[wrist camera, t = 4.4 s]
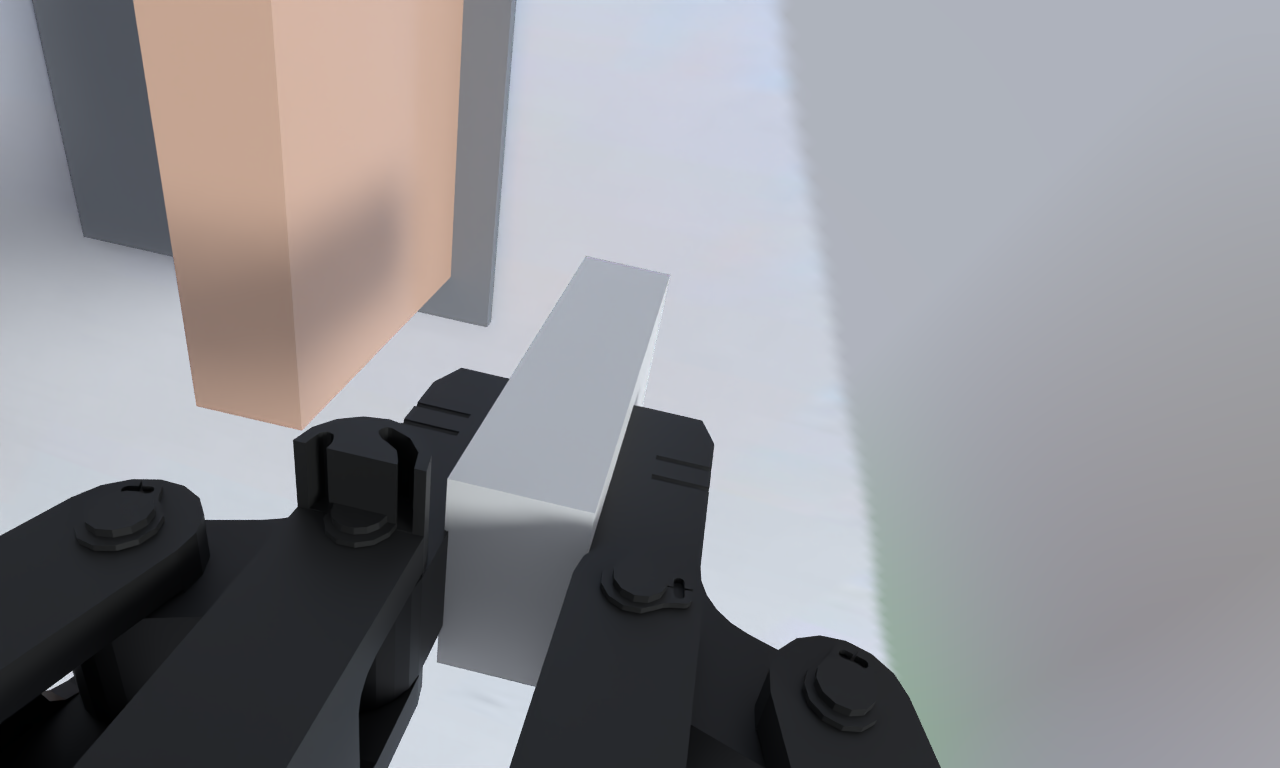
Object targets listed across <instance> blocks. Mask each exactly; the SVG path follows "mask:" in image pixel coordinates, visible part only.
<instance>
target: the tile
mask: <svg viewBox="0 0 1280 768" xmlns="http://www.w3.org/2000/svg"><path fill="white" fill-rule="evenodd" d="M463 2H464V0H133V3H134V9H135V16H136V22H137V28H138V35H139V41H140V48H141V54H142V60H143V67H144V73H145V80H146V86H147V92H148V99H149V105H150V112H151V118H152V124H153V131H154V137H155V144H156V150H157V156H158V163H159V169H160V175H161V182H162V188H163V195H164V201H165V207H166V214H167V220H168V227H169V233H170V239H171V246H172V252H173V259H174V265H175V271H176V278H177V284H178V290H179V297H180V303H181V310H182V316H183V322H184V329H185V335H186V342H187V348H188V354H189V361H190V367H191V374H192V380H193V386H194V393H195V399H196V406H199V407H203V408H207V409H211V410H216V411H220V412H224V413H229V414H233V415H237V416H242V417H246V418H250V419H254V420H259V421H263V422H267V423H272V424H276V425H280V426H285V427H289V428H293V429H298V430H303V429H304V428H305V427H306V426H307V425H308V424H309V423H310V422H311V421H312V420H313V418H314V417H315V416H316V415H317V414H318V413H319V412H320V411H321V410H322V409H323V408H324V407H325V406H326V405H327V404H328V403H329V402H330V401H331V400H332V399H333V398H334V397H335V396H336V395H337V394H338V393H339V392H340V391H341V390H342V389H343V388H344V387H345V385H346V384H347V383H348V382H349V381H350V380H351V379H352V378H353V377H354V376H355V375H356V374H357V373H358V372H359V371H360V370H361V369H362V368H363V367H364V366H365V365H366V364H367V363H368V362H369V361H370V360H371V359H372V358H373V357H374V356H375V355H376V354H377V352H378V351H379V350H380V349H381V348H382V347H383V346H384V345H385V344H386V343H387V342H388V341H389V340H390V339H391V338H392V337H393V336H394V335H395V334H396V333H397V332H398V331H399V330H400V329H401V328H402V327H403V326H404V325H405V324H406V323H407V322H408V320H409V319H410V318H411V317H412V316H413V315H414V314H415V313H416V312H417V311H418V310H419V309H420V308H421V307H422V306H423V305H424V304H425V303H426V302H427V301H428V300H429V299H430V298H431V297H432V296H433V295H434V294H435V293H436V292H437V291H438V290H439V289H440V287H441V286H442V285H443V284H444V283H445V282H446V281H447V280H448V279H449V278H450V277H451V260H452V238H453V217H454V195H455V174H456V152H457V131H458V109H459V88H460V66H461V45H462V23H463Z"/></svg>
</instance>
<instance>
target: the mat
mask: <svg viewBox="0 0 1280 768" xmlns="http://www.w3.org/2000/svg"><path fill="white" fill-rule="evenodd" d="M32 2H33V6H34V11H35V15H36V20H37V24H38V29H39V34H40V38H41V43H42V47H43V52H44V57H45V61H46V66H47V70H48V75H49V79H50V84H51V89H52V93H53V98H54V102H55V107H56V111H57V116H58V121H59V125H60V130H61V134H62V139H63V144H64V148H65V153H66V157H67V162H68V166H69V171H70V176H71V180H72V185H73V189H74V194H75V198H76V203H77V208H78V212H79V217H80V221H81V226H82V230H83V235H84V237H88V238H93V239H97V240H101V241H106V242H110V243H115V244H119V245H124V246H128V247H133V248H137V249H141V250H146V251H150V252H155V253H159V254H164V255H168V256H173V252H172V246H171V239H170V233H169V227H168V220H167V214H166V207H165V201H164V195H163V188H162V182H161V175H160V169H159V163H158V156H157V150H156V144H155V137H154V131H153V124H152V118H151V112H150V105H149V99H148V92H147V86H146V80H145V73H144V67H143V60H142V54H141V48H140V41H139V35H138V28H137V22H136V16H135V9H134V3H133V0H32ZM515 7H516V0H464V2H463V23H462V45H461V66H460V88H459V109H458V131H457V152H456V174H455V195H454V217H453V238H452V260H451V277H450V278H449V279H448V280H447V281H446V282H445V283H444V284H443V285H442V286H441V287H440V289H439V290H438V291H437V292H436V293H435V294H434V295H433V296H432V297H431V298H430V299H429V300H428V301H427V302H426V303H425V304H424V305H423V306H422V307H421V308H420V309H419V310H418V311H417V312H422V313H426V314H431V315H435V316H439V317H444V318H448V319H453V320H457V321H462V322H466V323H471V324H475V325H479V326H484V327H487V326H488V325H489V324H490V322H491V312H492V299H493V287H494V274H495V261H496V249H497V236H498V223H499V210H500V198H501V185H502V172H503V160H504V147H505V134H506V122H507V109H508V96H509V84H510V71H511V58H512V46H513V33H514V20H515Z"/></svg>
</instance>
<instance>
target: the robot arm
mask: <svg viewBox="0 0 1280 768" xmlns="http://www.w3.org/2000/svg"><path fill="white" fill-rule="evenodd" d="M669 278H670V275H669V274H664V273H660V272H655V271H651V270H646V269H642V268H637V267H633V266H628V265H624V264H619V263H615V262H610V261H606V260H601V259H597V258H592V257H588V256H586V257H585V259H584V260H583V262H582V264H581V265H580V267H579V268H578V270H577V272H576V273H575V275H574V276H573V278H572V280H571V281H570V283H569V284H568V286H567V288H566V289H565V291H564V292H563V294H562V296H561V297H560V299H559V300H558V302H557V304H556V305H555V307H554V309H553V310H552V312H551V313H550V315H549V317H548V318H547V320H546V321H545V323H544V325H543V326H542V328H541V329H540V331H539V333H538V334H537V336H536V337H535V339H534V341H533V342H532V344H531V345H530V347H529V349H528V350H527V352H526V353H525V355H524V357H523V358H522V360H521V361H520V363H519V365H518V366H517V368H516V369H515V371H514V373H513V374H512V376H511V377H510V379H508V378H503V377H499V376H495V375H490V374H486V373H482V372H477V371H473V370H469V369H464V368H460V369H458V370H456V371H454V372H452V373H450V374H448V375H447V376H445V377H443V378H441V379H439V380H437V381H435V382H433V384H432V385H431V386H430V387H429V389H428V390H427V391H426V392H425V394H424V395H423V396H422V397H421V399H420V400H419V401H418V404H417V406H414V407H413V409H412V410H411V411H410V412H409V414H408V415H407V416H406V417H405V419H404V423H401V424H400V423H398V422H395V421H392V420H390V419H381V418H372V417H353V418H343V419H336V420H332V421H329V422H326V423H323V424H320V425H317V426H314V427H312V428H310V429H309V430H307V431H306V432H304V433H303V434H301V435H300V436H298V437H297V438H296V439H294V440H293V446H294V460H295V474H296V488H297V502H298V507H297V508H296V509H295V510H294V512H293V513H292V514H291V515H290V516H289V517H288V518H282V519H269V520H205V518H204V513H203V509H202V505H201V502H200V498H199V497H198V496H196V495H195V494H194V493H193V492H191V491H190V490H189V489H187V488H186V487H185V486H182V485H179V484H175V483H171V482H168V481H164V480H148V479H131V480H126V481H121V482H116V483H110V484H105V485H100V486H98V487H96V488H93V489H91V490H88V491H86V492H83V493H81V494H78V495H76V496H73V497H71V498H69V499H67V500H66V501H64V502H62V503H60V504H58V505H56V506H54V507H53V508H51V509H49V510H47V511H45V512H43V513H42V514H40V515H38V516H36V517H34V518H32V519H30V520H29V521H27V522H25V523H23V524H21V525H19V526H17V527H16V528H14V529H12V530H10V531H8V532H6V533H5V534H3V535H1V536H0V768H388V766H389V764H390V762H391V760H392V758H393V755H394V753H395V751H396V749H397V747H398V745H399V743H400V741H401V738H402V736H403V734H404V732H405V730H406V728H407V726H408V724H409V721H410V719H411V717H412V715H413V713H414V711H415V709H416V707H417V704H418V700H419V696H420V691H421V687H422V670H423V665H424V663H425V661H426V659H427V657H428V655H429V653H430V651H431V649H432V647H433V645H434V642H435V640H436V638H437V636H438V652H437V662H438V663H442V664H446V665H450V666H454V667H458V668H462V669H466V670H470V671H474V672H478V673H482V674H486V675H490V676H495V677H499V678H503V679H507V680H511V681H515V682H519V683H523V684H527V685H531V686H535V687H536V688H535V691H534V694H533V697H532V700H531V703H530V706H529V709H528V712H527V715H526V719H525V722H524V725H523V728H522V731H521V734H520V737H519V740H518V743H517V746H516V749H515V752H514V755H513V758H512V762H511V765H510V768H941V767H940V765H939V763H938V760H937V758H936V756H935V754H934V752H933V749H932V747H931V745H930V743H929V740H928V738H927V736H926V734H925V731H924V729H923V727H922V725H921V722H920V720H919V718H918V716H917V713H916V711H915V709H914V707H913V705H912V702H911V700H910V698H909V696H908V695H907V693H906V692H905V690H904V688H903V687H902V685H901V684H900V682H899V681H898V679H897V678H896V676H895V675H894V673H893V672H891V671H890V670H889V669H888V668H887V667H886V666H885V665H883V664H882V663H881V662H880V661H879V660H878V659H877V658H875V657H874V656H873V655H872V654H870V653H868V652H867V651H865V650H863V649H861V648H859V647H857V646H855V645H853V644H851V643H849V642H847V641H844V640H839V639H834V638H829V637H825V636H812V637H804V638H796V639H795V640H793V641H792V642H790V643H788V644H787V645H785V646H784V647H782V648H781V649H779V650H777V649H775V648H773V647H771V646H769V645H768V644H766V643H764V642H762V641H760V640H758V639H756V638H754V637H752V636H751V635H749V634H747V633H746V632H744V631H742V630H741V629H739V628H738V627H736V626H735V625H733V624H732V623H730V622H729V621H728V620H727V619H726V618H725V617H724V616H723V615H722V614H721V613H720V612H719V611H718V610H717V609H716V608H715V606H714V605H713V603H712V602H711V601H710V599H709V598H708V596H707V595H706V592H705V589H704V587H703V584H702V581H701V568H700V566H701V557H702V548H703V539H704V531H705V522H706V513H707V504H708V495H709V492H708V491H709V486H710V477H711V468H712V459H713V450H714V443H713V441H712V439H711V437H710V435H709V433H708V431H707V429H706V427H705V425H704V423H703V421H701V420H697V419H693V418H688V417H684V416H680V415H675V414H671V413H667V412H662V411H658V410H654V409H649V408H645V407H643V403H644V398H645V393H646V388H647V384H648V379H649V374H650V369H651V364H652V360H653V355H654V350H655V345H656V341H657V336H658V331H659V326H660V321H661V317H662V312H663V307H664V302H665V298H666V293H667V288H668V283H669ZM438 634H439V635H438ZM71 671H73V674H74V677H72V678H71V679H69V680H68V681H66V682H64V683H63V684H61V685H59V686H57V687H55V688H53V689H51V690H48V691H45V690H47V689H48V688H49V687H51V686H52V685H54V684H55V683H56V682H58V681H59V680H60V679H62V678H63V677H64V676H66V675H67V674H69V673H70V672H71Z"/></svg>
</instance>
